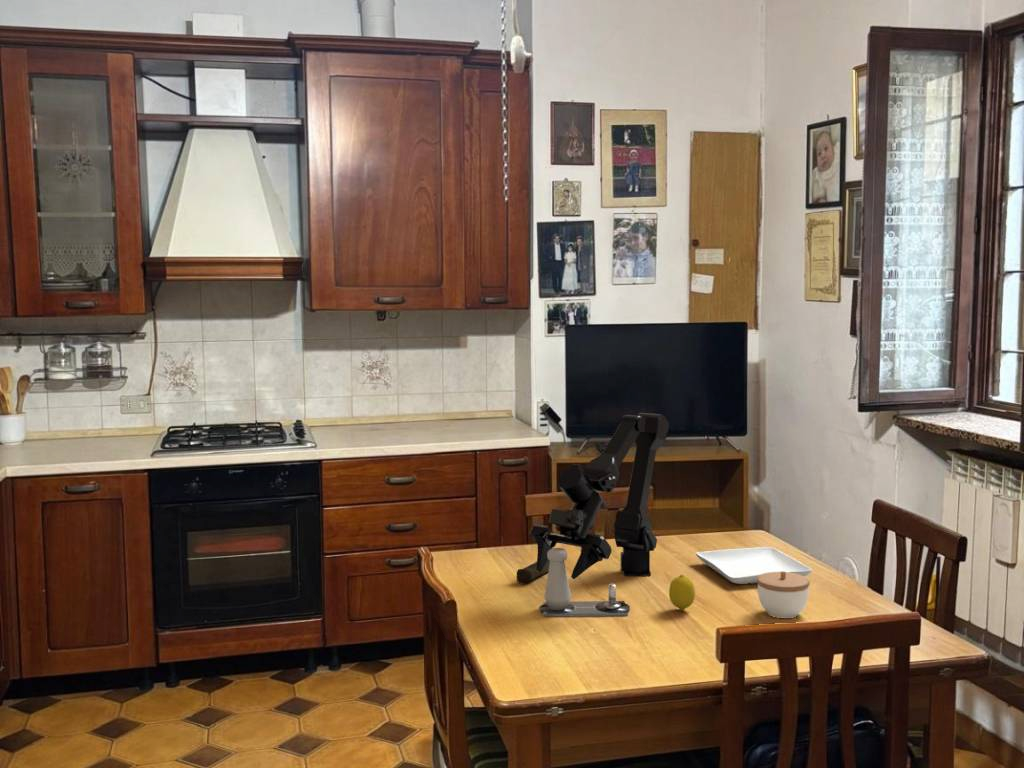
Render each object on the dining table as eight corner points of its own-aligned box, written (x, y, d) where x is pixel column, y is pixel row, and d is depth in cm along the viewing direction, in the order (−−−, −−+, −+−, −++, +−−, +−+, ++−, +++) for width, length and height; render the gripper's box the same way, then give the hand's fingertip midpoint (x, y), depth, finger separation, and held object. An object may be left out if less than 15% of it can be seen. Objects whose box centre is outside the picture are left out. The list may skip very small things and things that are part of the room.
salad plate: (814, 582, 243) (814, 568, 243) (731, 591, 238) (731, 576, 237) (771, 558, 263) (771, 545, 263) (693, 565, 258) (693, 552, 258)
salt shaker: (566, 612, 222) (566, 553, 221) (541, 610, 224) (540, 551, 222) (574, 604, 228) (573, 546, 226) (549, 601, 229) (548, 544, 228)
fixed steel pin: (619, 604, 227) (619, 582, 226) (621, 609, 224) (621, 587, 223) (603, 604, 227) (603, 582, 227) (604, 609, 224) (604, 587, 223)
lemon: (696, 607, 226) (696, 572, 225) (692, 615, 221) (692, 579, 220) (671, 605, 228) (671, 570, 227) (666, 613, 222) (666, 577, 222)
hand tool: (530, 586, 243) (529, 567, 243) (515, 583, 245) (515, 564, 245) (570, 566, 259) (570, 548, 258) (557, 564, 261) (557, 546, 261)
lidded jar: (819, 617, 218) (820, 574, 217) (779, 626, 214) (780, 582, 213) (785, 603, 228) (785, 561, 227) (746, 611, 223) (746, 568, 222)
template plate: (628, 603, 229) (627, 600, 229) (631, 615, 221) (631, 613, 221) (539, 604, 230) (539, 601, 230) (540, 616, 222) (539, 614, 222)
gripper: (533, 489, 232) (504, 548, 225) (604, 499, 221) (575, 562, 213) (554, 516, 239) (526, 574, 232) (623, 527, 228) (596, 589, 220)
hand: (555, 574), depth 224 cm, fingers open, 9 cm apart
